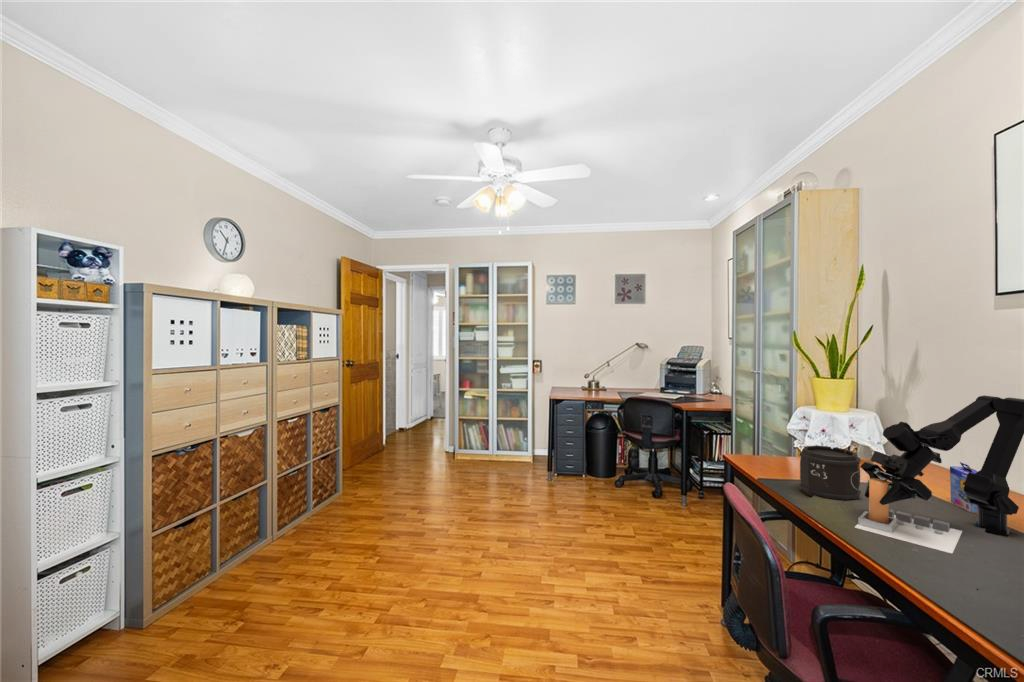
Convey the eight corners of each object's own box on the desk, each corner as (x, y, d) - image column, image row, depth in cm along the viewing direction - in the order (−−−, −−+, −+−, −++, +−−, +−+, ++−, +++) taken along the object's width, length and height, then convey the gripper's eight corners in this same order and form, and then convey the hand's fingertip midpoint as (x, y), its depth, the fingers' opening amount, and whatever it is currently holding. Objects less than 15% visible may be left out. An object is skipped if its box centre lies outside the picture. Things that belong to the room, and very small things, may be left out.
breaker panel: (872, 513, 138) (872, 503, 138) (962, 535, 123) (962, 523, 123) (854, 531, 126) (854, 520, 126) (952, 558, 110) (952, 545, 110)
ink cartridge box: (948, 501, 148) (948, 459, 147) (969, 503, 146) (968, 460, 146) (970, 513, 138) (970, 467, 138) (992, 514, 137) (992, 468, 136)
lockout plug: (874, 520, 130) (875, 477, 130) (891, 526, 126) (892, 482, 125) (865, 523, 128) (865, 479, 128) (882, 529, 124) (883, 484, 124)
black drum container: (853, 490, 160) (853, 447, 159) (869, 507, 143) (868, 459, 143) (795, 483, 167) (795, 442, 167) (803, 499, 151) (803, 454, 151)
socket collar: (865, 517, 132) (865, 511, 132) (898, 525, 126) (898, 518, 126) (858, 524, 128) (858, 517, 128) (892, 533, 122) (892, 526, 122)
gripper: (866, 435, 136) (830, 471, 137) (920, 451, 117) (879, 492, 118) (892, 460, 136) (856, 496, 136) (950, 480, 117) (909, 521, 118)
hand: (873, 500), depth 127 cm, fingers open, 5 cm apart
